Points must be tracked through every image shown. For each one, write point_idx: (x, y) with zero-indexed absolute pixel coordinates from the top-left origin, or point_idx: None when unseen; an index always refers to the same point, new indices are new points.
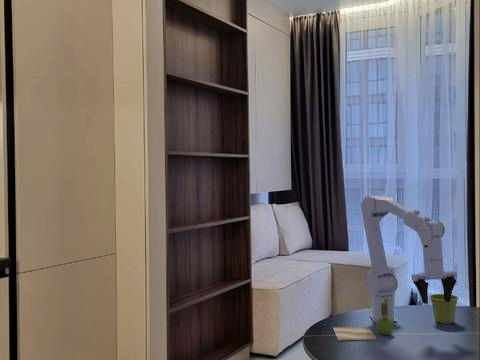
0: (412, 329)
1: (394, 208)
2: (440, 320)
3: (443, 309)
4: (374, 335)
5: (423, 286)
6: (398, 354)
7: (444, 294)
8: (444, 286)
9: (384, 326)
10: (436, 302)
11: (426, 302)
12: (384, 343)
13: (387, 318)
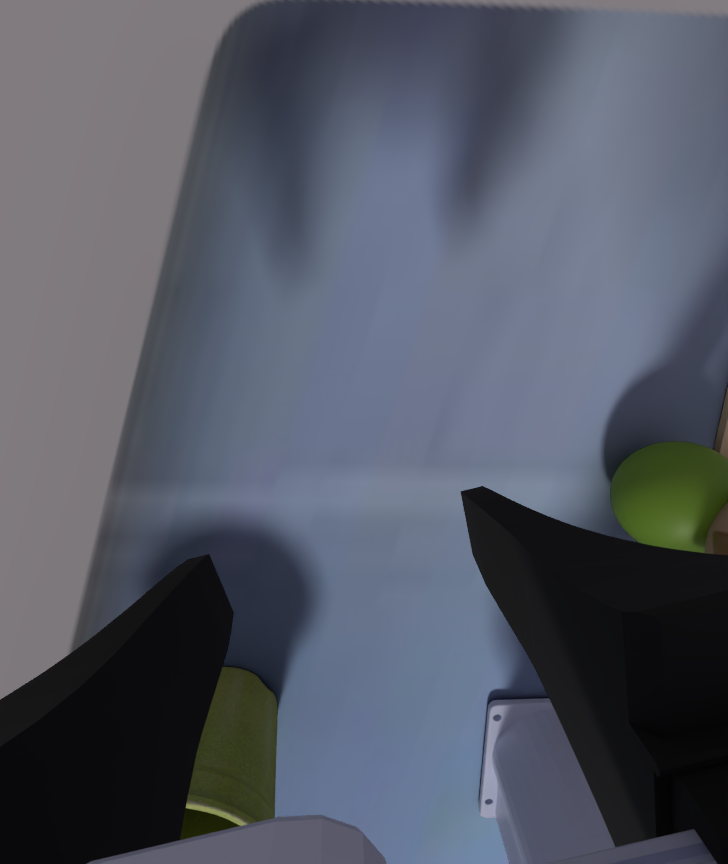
0: (450, 570)
1: None
2: (256, 688)
3: (220, 740)
4: (724, 435)
5: (693, 560)
6: (724, 40)
7: (210, 675)
8: (161, 787)
9: (710, 450)
10: (253, 801)
11: (484, 488)
12: (714, 296)
13: (707, 509)
